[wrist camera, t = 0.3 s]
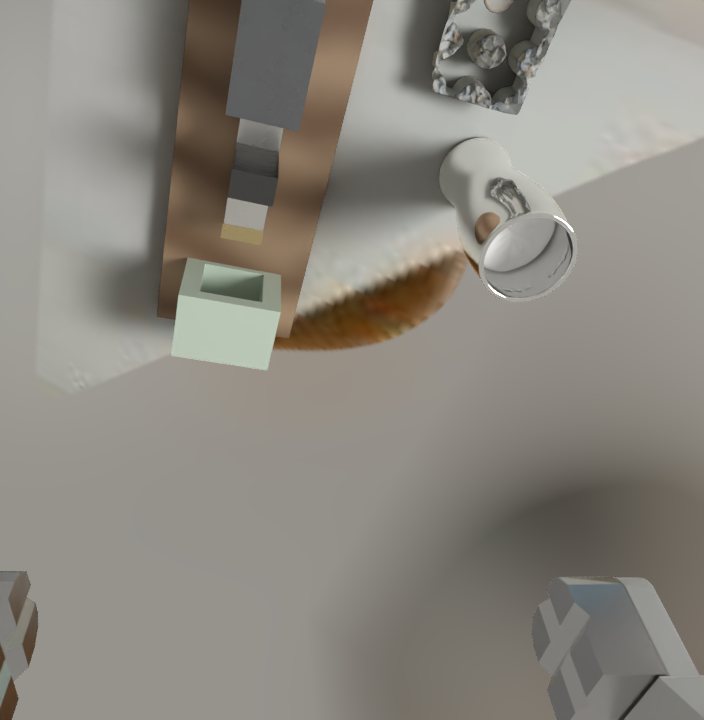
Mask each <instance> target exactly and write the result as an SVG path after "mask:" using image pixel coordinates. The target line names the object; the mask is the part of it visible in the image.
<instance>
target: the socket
mask: <svg viewBox="0 0 704 720" xmlns="http://www.w3.org/2000/svg"><path fill="white" fill-rule="evenodd" d="M280 314H281V275H279V274H274V273H268V272H263V271H257V270H252V269H247V268H241V267H236V266H231V265H225V264H220V263H215V262H209V261H204V260H198V259H193V258H187V262H186V266H185V271H184V275H183V279H182V283H181V287H180V291H179V295H178V303H177V312H176V320H175V328H174V336H173V344H172V352H171V356H177V357H183V358H190V359H197V360H203V361H209V362H216V363H222V364H229V365H236V366H242V367H249V368H255V369H262V370H267V369H268V365H269V360H270V356H271V352H272V348H273V343H274V339H275V335H276V331H277V326H278V322H279V318H280Z"/></svg>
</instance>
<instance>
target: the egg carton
mask: <svg viewBox="0 0 704 720" xmlns="http://www.w3.org/2000/svg"><path fill="white" fill-rule="evenodd" d="M474 1H475V0H457V1H451V2H450V8H449V15H448V21H447V23H446V25H445V28H444V32H443V35H442V39H441V43H440V47H439V51H435V54H434V56H433V59H432V66H433V67H435V69H434V71H433V73H432V79H433V88H432V91H433V92H436V93H439V94H444V95H447V96H450V97H453V98H456V99H459V100H463V101H466V102H469V103H472V104H476V105H479V106H482V107H486V108H489V109H493V110H497V111H500V112H504V113H508V114H514V115H517V114H518V113H519V111H520V109H521V106H522V104H523V102H524V99H525V97H526V95H527V92H528V89H529V86H530V83H531V81H532V79H533V77H535V75H536V70H537V68H538V67H539V66H540V65H541V63H542V62H543V60H544V58H545V55H546V52H547V50H548V47H549V45H550V43H551V41H552V39H553V37H554V35H555V32H556V29H557V26H558V24H559V22H560V20H561V19H562V17H563V15H564V13H565V11H566V9H567V7H568V5H569V3H570V1H571V0H529V2H528V5H527V12H526V13H527V17H528V19H529V21H530V22H531V23H532V24H533V25H534V26H535V29H534V32H533V34H532V37H531V39H530V40H529V41H521V42H519V43H517V44H516V45H514V47H513V48H512V49H511V51H510V53H509V56H508V64H509V67H510V68H511V70H512V71H513V72H514V73H516V74H517V75H516V78H515V81H514V83H513V86H512V87H504V88H501V89H500V90H498V91H497V92H496V93H495V94H494V96H493V97H492V98H491V95H490V93H489V92H488V91H487V90H486V89H485V88H484V86H483V85H482V84H481V83H480V82H479V81H478V80H477V79H476V78H475V77H473V76H464V77H462V78H460V79H458V80H457V81H456V83H455V84H454V86H453V87H452V88H449V87H446V81H445V78H444V77H443V76H442V75H441V73H440V72H439V71H438V70H437V69H438V64H439V62H440V60H444V59H445V58H447V57H450V56H452V55H453V54H454V53H455V52H456V51H457V50H458V49H459V47H460V46H462V45H463V41H464V39H463V37H462V35H461V31H460V29H459V27H458V26H457V25H456V24H455V23H454V22H453V19H454V17H455V15H456V14H459V13H461V12H464V11H466V10H468V9H469V8H470V4H471V3H473V2H474ZM513 1H514V0H484V2H485V5H486V8H487V9H488V10H489V11H491V12H493V13H500V12H504V11H505V10H507V9H508V8H509V7H510V5H511V4H512V2H513ZM467 52H468V55H469V57H470V58H471V59H472V60H473V61H474V62H472V63H475V64H476V65H478V66H479V67H481V68H483V69H487V70H489V69H491V68H493V67H496V66H498V65H499V64H500V63H501V62H502V61H503V60H504V59H505V58H506V55H507V53H506V48H505V43H504V40H503V39H502V38H501V37H500V36H498V35H497V34H496V33H495V32H493V31H492V30H490V29H479V30H477V31H476V32H474V33H473V34H472V36H471V37H470V38H469V40H468V43H467Z"/></svg>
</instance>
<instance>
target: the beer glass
mask: <svg viewBox="0 0 704 720" xmlns="http://www.w3.org/2000/svg"><path fill="white" fill-rule="evenodd" d="M439 184H440V188H441V191H442V193H443V195H444V196H445V198H446V199H447V200H448V201H449V202H450V203H451V204H452V205H453V206H454V207H455V213H456V223H457V230H458V235H459V239H460V242H461V245H462V247H463V250H464V253H465V255H466V257H467V258H468V260H469V262H470V264H471V266H472V267H473V269H474V270H475V272H476V273H477V275H478V276H479V278H480V279H481V281H482V283H483V285H484V286H485V288H486V289H487V290H488V291H489V292H490V293H491V294H493V295H494V296H496V297H498V298H499V299H502V300H505V301H509V302H527V301H531V300H535V299H538V298H541V297H543V296H545V295H547V294H549V293H551V292H552V291H554V290H555V289H556V288H557V287H558V286H560V285H561V284H562V283H563V282H564V281H565V280H566V279H567V277H568V276H569V274H570V273H571V271H572V270H573V267H574V265H575V263H576V260H577V256H578V241H577V237H576V235H575V232H574V231H573V229H572V227H571V226H570V225H569V223H568V221H567V219H566V218H565V216H564V215H563V213H562V211H561V209H560V208H559V206H558V205H557V204H556V202H555V201H554V199H553V198H552V197H551V196H550V195H549V194H548V193H547V192H546V190H545V189H544V188H543V187H542V186H540V185H539V184H538V183H536V182H535V181H534V180H532V179H531V178H529V177H528V176H526V175H524V174H523V173H521V172H519V171H517V170H516V169H514V168H513V166H512V162H511V159H510V156H509V154H508V153H507V151H506V150H505V148H504V147H503V146H502V145H501V144H499V143H498V142H496V141H494V140H491V139H488V138H472V139H469V140H466V141H464V142H462V143H460V144H458V145H457V146H455V147H454V148H453V149H452V150H451V151H450V152H449V153H448V154H447V156H446V157H445V159H444V161H443V163H442V165H441V168H440V173H439Z"/></svg>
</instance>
